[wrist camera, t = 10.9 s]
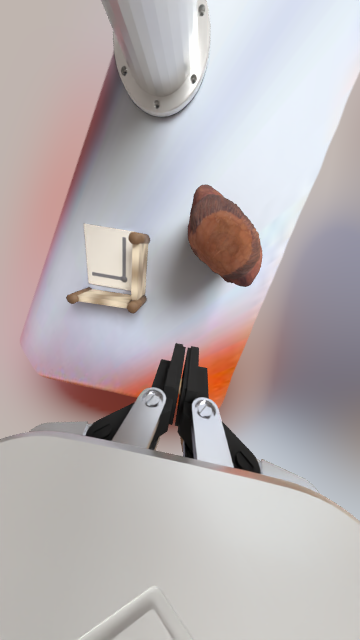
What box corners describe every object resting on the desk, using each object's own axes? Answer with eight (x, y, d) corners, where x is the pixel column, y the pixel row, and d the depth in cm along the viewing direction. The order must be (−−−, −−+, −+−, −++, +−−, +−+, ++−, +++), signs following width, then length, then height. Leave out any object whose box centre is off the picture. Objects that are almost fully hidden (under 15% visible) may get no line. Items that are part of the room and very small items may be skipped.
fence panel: (136, 294, 37) (124, 303, 32) (136, 302, 38) (125, 311, 32) (85, 286, 38) (65, 294, 32) (86, 294, 38) (67, 303, 33)
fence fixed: (140, 233, 32) (127, 231, 27) (150, 234, 32) (140, 233, 27) (137, 302, 38) (126, 312, 33) (146, 303, 38) (137, 313, 32)
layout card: (84, 223, 33) (83, 223, 32) (135, 231, 32) (134, 231, 32) (89, 282, 37) (88, 283, 37) (133, 290, 37) (132, 291, 37)
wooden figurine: (179, 234, 31) (155, 224, 15) (204, 203, 29) (208, 152, 13) (222, 279, 34) (241, 312, 18) (248, 254, 32) (299, 266, 15)
